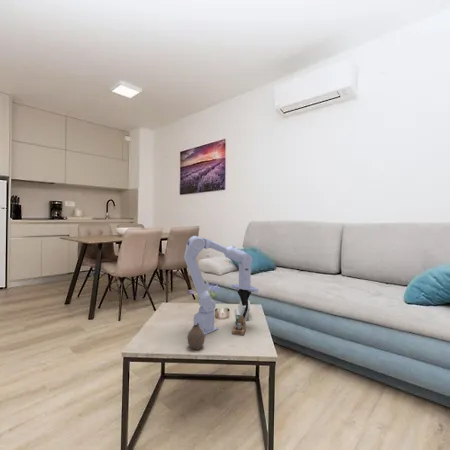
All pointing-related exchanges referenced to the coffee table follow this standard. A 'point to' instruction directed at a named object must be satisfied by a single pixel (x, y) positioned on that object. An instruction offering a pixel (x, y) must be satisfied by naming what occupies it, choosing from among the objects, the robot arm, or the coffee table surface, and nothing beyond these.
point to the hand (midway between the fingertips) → (244, 305)
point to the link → (243, 329)
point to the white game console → (243, 310)
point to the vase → (196, 337)
